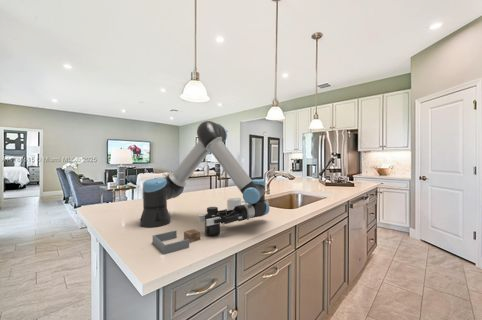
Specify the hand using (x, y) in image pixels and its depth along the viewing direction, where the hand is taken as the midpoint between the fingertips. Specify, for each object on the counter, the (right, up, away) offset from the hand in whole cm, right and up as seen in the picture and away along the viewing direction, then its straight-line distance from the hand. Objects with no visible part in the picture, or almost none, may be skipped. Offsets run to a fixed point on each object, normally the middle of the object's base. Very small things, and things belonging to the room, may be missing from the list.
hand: (202, 220), depth 96 cm
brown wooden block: (-4, -7, -3) cm, 9 cm away
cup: (+15, -7, +35) cm, 38 cm away
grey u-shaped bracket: (-11, -7, -9) cm, 16 cm away
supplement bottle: (+4, -7, +3) cm, 9 cm away
